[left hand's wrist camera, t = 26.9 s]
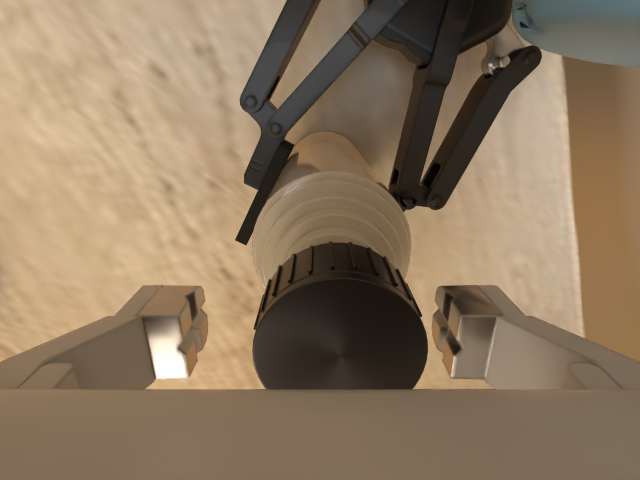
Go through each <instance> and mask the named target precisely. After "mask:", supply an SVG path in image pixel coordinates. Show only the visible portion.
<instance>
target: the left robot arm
mask: <svg viewBox="0 0 640 480" xmlns="http://www.w3.org/2000/svg"><path fill="white" fill-rule="evenodd" d="M204 302H205V296H204V290H203V289H202V287H201V286H175V285H165V286H164V285H146V286H142V287H141V288H140V289H139V290H138V291H137V293H136V294H135V295H134V296H133V297H132V298H131V299H130V300H129V301H128V302H127V303H126V304H125V305H124V306H123V307H122V308H121V309H120V310H119V311H118V313H117V314H116V315H115V316H107V317H105V318H102V319H100V320H98V321H95V322H93V323H91V324H88V325H86V326H84V327H81V328H79V329H77V330H74V331H72V332H70V333H67V334H65V335H62V336H60V337H58V338H55V339H53V340H51V341H48V342H46V343H44V344H41V345H39V346H37V347H34V348H32V349H30V350H27V351H25V352H23V353H20V354H18V355H15V356H13V357H11V358H8V359H6V360H4V361H2V362H0V480H640V362H638V361H636V360H634V359H631V358H629V357H627V356H624V355H622V354H620V353H617V352H615V351H612V350H610V349H608V348H606V347H603V346H601V345H598V344H596V343H594V342H591V341H589V340H587V339H584V338H582V337H580V336H577V335H575V334H573V333H570V332H568V331H566V330H563V329H561V328H559V327H556V326H554V325H552V324H549V323H547V322H545V321H542V320H540V319H538V318H535V317H533V316H525V315H524V314H523V313H522V311H521V310H520V309H519V308H518V307H517V306H516V305H515V304H514V303H513V302H512V301H511V300H510V299H509V298H508V297H507V296H506V295H505V294H504V292H503V291H502V290H501V289H500V288H499V287H498V286H495V285H462V286H440V287H438V288H437V291H436V296H435V302H436V304H437V306H438V308H439V309H438V310H437V311H436V312H435V313H434V314H433V319H432V335H433V339H434V343H435V345H436V348H437V349H438V350H439V351H441V352H442V353H443V360H442V361H443V363H444V365H445V367H446V369H447V371H448V373H449V375H450V377H451V378H452V379H485V381H486V382H487V383H488V384H490V385H491V386H492V387H493V388H495V389H145V388H147V387H148V386H149V385H150V384H152V383H153V382H154V381H155V380H154V379H187V378H190V375H191V373H192V371H193V369H194V367H195V365H196V363H197V361H198V360H197V353H198V352H199V351H201V350H202V349H203V348H204V345H205V343H206V339H207V334H208V319H207V314H206V313H205V312H204V311H203V310H202V309H201V308H202V306H203V304H204Z"/></svg>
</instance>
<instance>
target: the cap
mask: <svg viewBox="0 0 640 480" xmlns="http://www.w3.org/2000/svg"><path fill="white" fill-rule="evenodd" d="M420 317H422V314H421V312H420V310H419V308H418V306H417V304H416V301H415V299H414V297H413V295H412V293H411V291H410V289H409V287H408V285H407V283H405V281H404V279H403V276H402V274H401V272H400V270H399V269H395V267H394V266H393V265H392V264H391V263H390V262H389V261H388V258H387V257H386V256H384V257H383V256H381V255H380V254H378V253H376V252H375V251H373V250H372V249H371V248H370V247H368V248H366V247H363V246H360V245H356V244H352V242H349V243H339V242H333V243H332V241H329V243H324V244H319V245H315V246H313V245H311V246H309V248H307V249H304V250H302V251H300V252H298V253H296V254H295V253H294V254H292V257H291V258H289V259H288V260H287V261H286V262H285V263H283V264H282V265H279V266H278V268H277V271H276V272H275V274H274V276H273V277H272V279H269V280H268V283H267V286H266V290H265V294H264V295H263V297H262V301H261V304H260V308H259V311H258V315H257V318H256V322H255V325H254V330H256V332H255V336H254V340H253V350H252V351H253V361H254V365H255V369H256V372H257V374H258V377H259V379H260V381H261V382H262V384H263V386H264V387H265V388H266V389H413V388H414V387H415V385H416V384H417V382H418V380H419V379H420V377H421V375H422V373H423V370H424V367H425V364H426V360H427V353H428V341H427V335H426V331H425V328H424V325H423V323H422V320H421V318H420Z"/></svg>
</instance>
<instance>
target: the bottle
mask: <svg viewBox="0 0 640 480" xmlns="http://www.w3.org/2000/svg"><path fill="white" fill-rule="evenodd" d="M329 241H332V243H333V242H339V243H349V242H352V244H356V245H360V246H363V247H366V248H368V247H370V248H371V249H372V250H373V251H375V252H376V253H378V254H380V255H381V256H383V257H384V256H386V257H387V258H388V261H389V262H390V263H391V264H392V265H393V266H394V267H395V269H399V270H400V272H401V274H402V276H403V279H404V278H405V276H406V273H407V270H408V266H409V262H410V252H411V235H410V230H409V225H408V222H407V219H406V217H405V215H404V213H403V211H402V209H401V207H400V206H399V204H398V203H397V202H396V200H395V199H394V197H393V196H392V195H391V193H390V192H389V191H388V189H387V188H386V187H385V185H384V184H383V183H382V181H381V180H380V179H379V177H378V176H377V175H376V173H375V172H374V171H373V169H372V168H371V167H370V165H369V164H368V163H367V161H366V160H365V159H364V157H363V156H362V155H361V153H360V152H359V151H358V149H357V148H356V147H355V145H354V144H353V143H352V142H351V141H350V140H349V139H347V138H346V137H344V136H343V135H340V134H338V133H335V132H329V131H321V132H316V133H312V134H310V135H308V136H306V137H304V138H303V139H302V140H300V141H299V142H298V143H297V144H296V146H295V147H294V148H293V150H292V152H291V154H290V156H289V158H288V160H287V162H286V164H285V166H284V168H283V170H282V171H281V173H280V175H279V177H278V179H277V181H276V183H275V185H274V187H273V189H272V191H271V193H270V195H269V197H268V199H267V201H266V203H265V205H264V206H263V208H262V210H261V212H260V214H259V216H258V219H257V221H256V224H255V227H254V232H253V236H252V254H253V260H254V264H255V267H256V271H257V274H258V277H259V280H260V282H261V284H262V285H263V287H264V289H265V290H266V286H267V283H268V280H269V279H272V277H273V276H274V274H275V272H276V271H277V268H278V266H279V265H282V264H283V263H285V262H286V261H287V260H288V259H289V258H291V257H292V254H294V253H295V254H296V253H298V252H300V251H302V250H304V249H307V248H309V246H311V245H313V246H315V245H319V244H324V243H329Z"/></svg>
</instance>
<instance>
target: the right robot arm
mask: <svg viewBox="0 0 640 480" xmlns="http://www.w3.org/2000/svg"><path fill="white" fill-rule="evenodd" d="M320 1H321V0H287V1H286V3H285V5H284V8H283V10H282V12H281V14H280V16H279V18H278V20H277V22H276V24H275V26H274V28H273V30H272V32H271V34H270V36H269V39H268V41H267V43H266V45H265V47H264V49H263V51H262V53H261V55H260V57H259V59H258V61H257V63H256V65H255V67H254V70H253V72H252V74H251V76H250V78H249V80H248V82H247V84H246V86H245V88H244V90H243V92H242V94H241V97H240V105H241V107H242V109H243V110H244V111H246V112H248V113H249V114H250V115H251V116H252V117H253V118H254V119H255V121H256V122H257V123H258V124H259V126H260V128H261V137H260V140H259V142H258V144H257V147H256V149H255V151H254V153H253V156H252V158H251V160H250V162H249V165H248V167H247V169H246V172H245V174H244V183H245V184H247V185H249V186H251V187H253V188H255V189H257V190H258V192H257V194H256V196H255V198H254V200H253V203H252V205H251V207H250V209H249V211H248V213H247V216H246V218H245V220H244V222H243V224H242V226H241V229H240V231H239V233H238V235H237V237H236V239H235V240H236V241H238V242H240V243H242V244H244V245H247V243H248V241H249V239H250V237H251V235H252V233H253V231H254V227H255V224H256V221H257V219H258V216H259V214H260V212H261V210H262V208H263V206H264V205H265V203H266V201H267V199H268V197H269V195H270V193H271V191H272V189H273V187H274V185H275V183H276V181H277V179H278V177H279V175H280V173H281V171H282V170H283V168H284V166H285V164H286V162H287V160H288V157H289V155H290V153H291V151H292V149H293V147H294V144H292V143H290V142H288V141H286V140H284V139H285V136H286V134H287V132H288V131H289V130H290V129H291V128H292V127H293V126H294V125H295V124H296V122H297V121H298V120H299V119H300V118H301V117H302V116H303V115H304V114H305V113H306V112H307V110H308V109H309V108H310V107H311V106H312V105H313V104H314V103H315V102H316V101H317V100H318V99H319V97H320V96H321V95H322V94H323V93H324V92H325V91H326V90H327V89H328V88H329V87H330V85H331V84H332V83H333V82H334V81H335V80H336V79H337V78H338V77H339V76H340V75H341V73H342V72H343V71H344V70H345V69H346V68H347V67H348V66H349V65H350V64H351V63H352V62H353V60H354V59H355V58H356V57H357V56H358V55H359V54H360V53H361V52H362V51H363V50H364V48H365V47H366V46H367V45H368V44H369V43H370V42H371V41H372V40H373V39H374V40H375V41H377V42H379V43H380V44H382V45H384V46H387V47H391V48H395V49H398V50H399V51H400V52H401V53H402V54H403V55H404V56H405V57H406V58H407V59H408V60H409V61H411V62H412V63H414V64H416V69H415V73H414V77H413V89H412V93H411V97H410V101H409V105H408V109H407V113H406V117H405V121H404V126H403V130H402V134H401V138H400V142H399V146H398V150H397V154H396V158H395V162H394V166H393V171H392V175H391V179H390V183H389V189H388V191H389V192H390V193H391V195H392V196H393V197H394V199H395V200H396V202H397V203H398V204H399V206H400V207H401V209H402V211H403V213H404V211H405V210H410V209H412V208H414V207H415V206H423V207H429V208H431V209H433V210H438V209H441V208H442V207H443V206H444V205H445V204H446V202H447V201H448V199H449V197H450V195H451V194H452V192H453V190H454V189H455V187H456V185H457V183H458V182H459V180H460V178H461V176H462V175H463V173H464V171H465V170H466V168H467V166H468V164H469V163H470V161H471V159H472V157H473V156H474V154H475V152H476V151H477V149H478V147H479V145H480V144H481V142H482V140H483V138H484V137H485V135H486V133H487V132H488V130H489V128H490V126H491V125H492V123H493V121H494V119H495V118H496V116H497V114H498V113H499V111H500V109H501V107H502V106H503V104H504V102H505V100H506V99H507V97H508V95H509V94H510V92H511V91H512V90H513V89H514V88H515V87H516V86H517V85H518V84H519V83H520V82H521V81H522V80H523V79H524V78H526V77H527V76H528V75H529V74H530V73H531V72H532V71H533V70H534V69H535V68H536V67H537V66H538V65H539V63H540V61H541V58H542V53H541V51H540V49H539V48H541V49H543V50H546V51H549V52H552V53H555V54H559V55H563V56H567V57H572V58H576V59H581V60H586V61H591V62H597V63H604V64H612V65H621V66H631V67H640V0H364V6H365V11H364V12H363V13H362V14H361V16H360V17H359V18H358V19H357V20H356V21H355V22H354V24H353V25H352V26H351V27H350V29H349V30H348V31H347V32H346V33H345V34H344V36H343V37H342V38H341V39H340V40H339V41H338V42H337V43H336V45H335V46H334V47H333V48H332V49H331V50H330V51H329V52H328V54H327V55H326V56H325V57H324V58H323V59H322V60H321V61H320V62H319V64H318V65H317V66H316V67H315V68H314V69H313V70H312V71H311V73H310V74H309V75H308V76H307V77H306V78H305V79H304V80H303V82H302V83H301V84H300V85H299V86H298V87H297V88H296V89H295V91H294V92H293V93H292V94H291V95H290V96H289V97H288V98H287V100H286V101H285V102H284V103H283V104H282V105H281V106H280V107H279V109H277V108H276V107H275V106H274V105H273V104H272V103H271V102H270V99H271V97H272V95H273V93H274V91H275V89H276V87H277V85H278V83H279V81H280V79H281V77H282V75H283V73H284V72H285V70H286V68H287V66H288V64H289V62H290V60H291V58H292V56H293V54H294V52H295V50H296V48H297V46H298V44H299V42H300V40H301V38H302V36H303V34H304V33H305V31H306V29H307V27H308V25H309V23H310V21H311V19H312V17H313V15H314V13H315V11H316V9H317V7H318V5H319V3H320ZM512 2H513V5H512ZM511 9H512V20H513V24H514V26H515V28H516V30H517V32H518V33H519V34H520V35H521V36H522V37H523V38H524V39H525V40H526V41H528V42H529V43H531V44H533V45H534V46H533V45H532V46H528V47H525V46H524V45H523V43H522V42H521V41H520V39H519V38H518V37H517V35H516V34H515V33H514V32H513V30H512V29H511V28H510V26H509V25H508V24H507V23H508V21H509V18H510V15H511ZM484 41H486V43H487V53H486V55H485V57H484V58H483V60H482V63H481V70H482V72H483V74H482V75H481V76H480V77H479V79H478V80H477V81H476V83H475V84H474V86H473V87H472V89H471V90H470V92H469V94H468V96H467V98H466V100H465V101H464V103H463V105H462V107H461V109H460V111H459V112H458V114H457V116H456V118H455V120H454V122H453V124H452V125H451V127H450V129H449V131H448V133H447V135H446V136H445V138H444V140H443V142H442V144H441V146H440V148H439V149H438V151H437V153H436V155H435V157H434V159H433V160H432V162H431V164H430V166H429V168H428V170H427V172H426V173H425V175H424V177H423V179H422V181H421V182H420V179H421V176H422V172H423V168H424V165H425V161H426V158H427V154H428V150H429V147H430V143H431V139H432V136H433V132H434V128H435V125H436V121H437V117H438V114H439V110H440V107H441V103H442V99H443V96H444V92H445V89H446V87H447V86H448V84H449V82H450V80H451V77H452V74H453V70H454V67H455V63H456V59H457V56H458V55H459V54H461V53H463V52H465V51H467V50H469V49H471V48H473V47H475V46H476V45H478V44H480V43H482V42H484Z"/></svg>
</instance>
